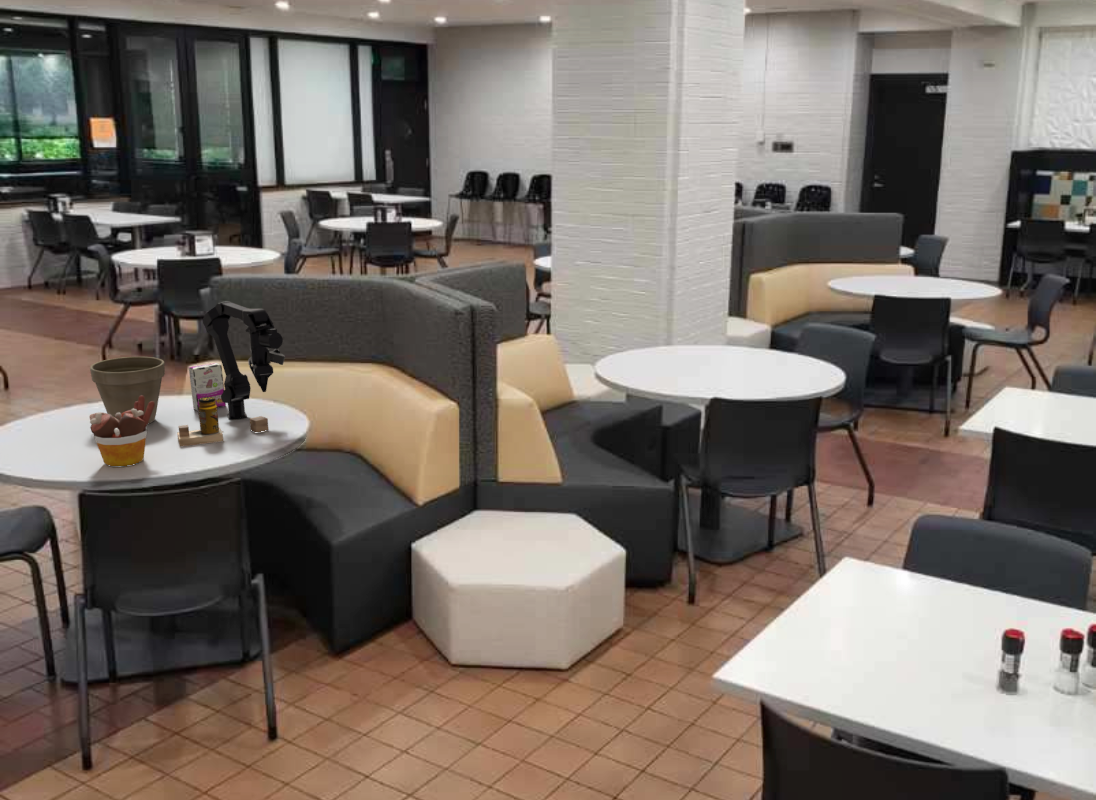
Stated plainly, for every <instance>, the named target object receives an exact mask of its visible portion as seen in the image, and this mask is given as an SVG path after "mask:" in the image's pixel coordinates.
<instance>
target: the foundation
mask: <svg viewBox="0 0 1096 800" xmlns="http://www.w3.org/2000/svg"><path fill="white" fill-rule="evenodd" d="M219 430H220V431H222V430H221V427H219ZM197 431H201V430H200V429H195V430H190V429H189V424H184V425H183V424H181V425H178V432H177V441H178V444H179V447H187V446H188V447H189V446H195V445H203V444H205V445H206V444H213V443H220V442H221V441H222V442H224V435H223V433H219V434H214V435H209V436H205V437H198V436H196V435H194V434H192V433H191V432H197ZM222 442H221V443H222Z"/></svg>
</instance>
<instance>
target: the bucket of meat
mask: <svg viewBox="0 0 1096 800" xmlns="http://www.w3.org/2000/svg"><path fill="white" fill-rule="evenodd" d="M154 406H155V403H154V402H153V401H151V402H149V403H148V406H147V409H146V411H145V414H144V408H145V397H144V396H142V395H141V396H139V398H138V401H136V402H135V403H134V409H132V410H128V411H125V412H123V413H121V414H120V412H119V413H116V414H115V417H116V418H118V419H119V420H120V421H119V420H117V419H116V418H115V417H113V416H112V415H111V414H107V412H101V411H98V412H94V413H91V414H89V424H91V425H90V427H89V428H90V432H91V433H92V434H93V439H94V440H95V442H96V443H95V444H96V445H97V448H98V451H99V453H100V455H101V458H102V460H103V463H104V464H105V465H106V464H107V466H108V465H110V466H109V467H111V466H126V467H128V466H127V465H132V466H134V465H133V464H135V465H137V464H136V463H138V464H139V462H140V463H142V461H143V460H144V459H145V450H146V441H147V433H148V429H147V426H148V425H149V424H148V422H149V420H150V417H151V414H152V412H153V409H154Z"/></svg>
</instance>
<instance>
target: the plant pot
mask: <svg viewBox="0 0 1096 800" xmlns="http://www.w3.org/2000/svg"><path fill="white" fill-rule="evenodd" d="M89 370H90V376H91V381H92V382H93V383H95V385H96V389H97V391H98V393H99V396H100V398H101V400H102V403H103V406H104V408H105V409H104V410H105V411H106V413H107V414H111V415H112V416H113V417H115V414H116V413H119V412H120V414H121V413H123V412H125V411H128V410H132V409H134V403H135V402H136V401H138V398H139V396H141V395H142V396H144V397H145V408H144V414H145V411H146V409H147V406H148V403H149V402H151V401H153V402H154V403H155V406H154V409H153V412H152V414H151V417H150V420H149V422H148V423H149V424H151V423H153V422H154V421H155V420H156V416H157V411H158V405H159V400H160V399H159V398H160V393H161V386H162V379H163V377H164V376H165V375H166V373H165V372H166V371H165V361H164V360H163V359H162V358H157V357H153V356H125V357H115V358H110V359H108V358H107V359H105V360H100V361H97V362H95V363H92V364H90V366H89ZM115 418H116V417H115ZM116 419H117V420H119V419H118V418H116ZM119 421H120V420H119Z"/></svg>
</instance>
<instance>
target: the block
mask: <svg viewBox="0 0 1096 800" xmlns="http://www.w3.org/2000/svg"><path fill="white" fill-rule="evenodd" d="M268 419H269V418H268V417H265V416H262V415H260V416H256V417H250V418H249V426H250V428H249V429H250V431H251V430H252V431H254V432H253V433H255V432H261V431H265V430H269V421H268ZM252 431H251V432H252ZM265 432H266V431H265ZM261 433H262V432H261Z"/></svg>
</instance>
